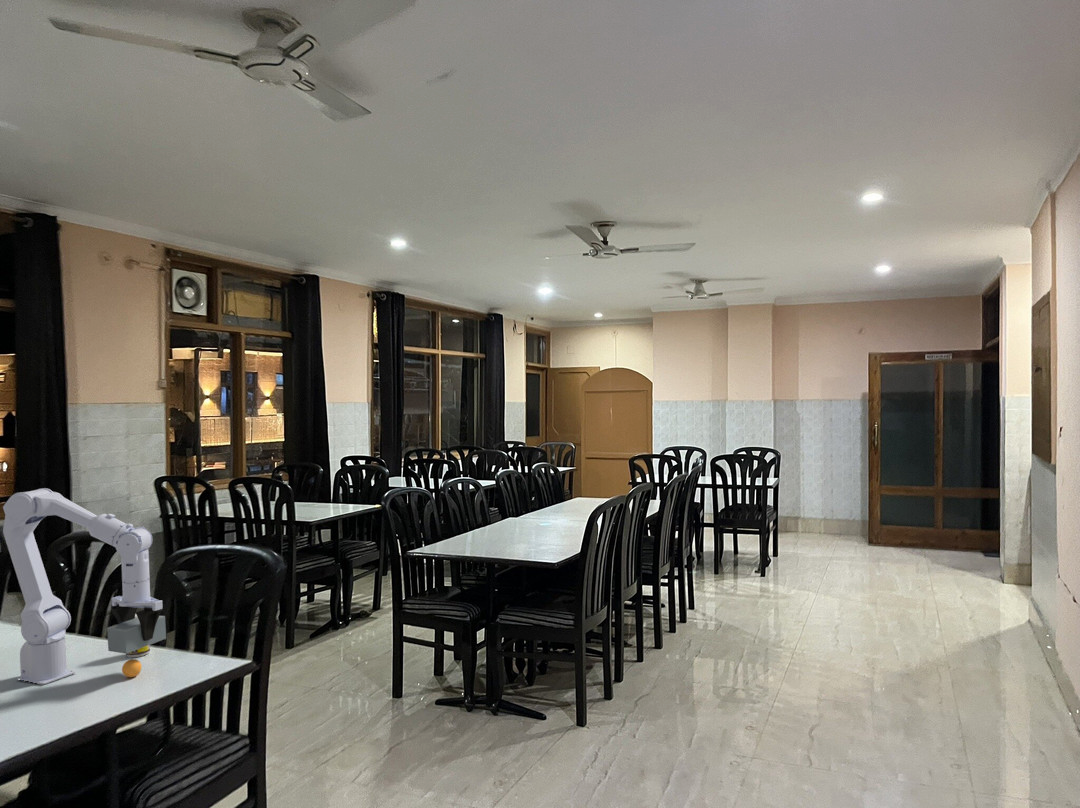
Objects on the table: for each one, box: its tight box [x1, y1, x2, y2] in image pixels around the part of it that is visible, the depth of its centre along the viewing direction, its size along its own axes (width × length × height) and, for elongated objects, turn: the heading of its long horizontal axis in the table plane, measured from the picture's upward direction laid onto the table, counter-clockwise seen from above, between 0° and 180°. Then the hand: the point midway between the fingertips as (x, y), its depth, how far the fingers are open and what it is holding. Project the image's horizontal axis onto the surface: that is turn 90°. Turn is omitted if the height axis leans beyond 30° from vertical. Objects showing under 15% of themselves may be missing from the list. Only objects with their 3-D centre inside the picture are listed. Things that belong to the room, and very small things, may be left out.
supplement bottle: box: [125, 614, 151, 658], centre depth 195 cm, size 6×6×10 cm
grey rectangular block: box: [106, 615, 167, 655], centre depth 180 cm, size 6×11×5 cm, turn 156°
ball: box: [121, 658, 142, 678], centre depth 179 cm, size 4×4×4 cm
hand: (138, 638), depth 181 cm, fingers closed on grey rectangular block, 6 cm apart
